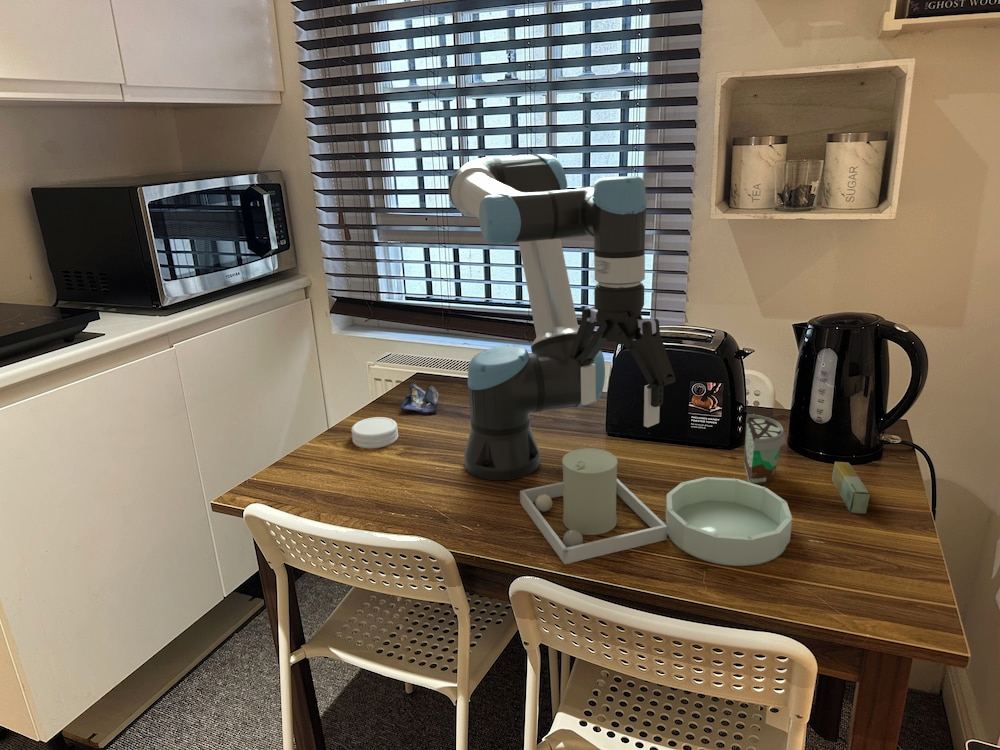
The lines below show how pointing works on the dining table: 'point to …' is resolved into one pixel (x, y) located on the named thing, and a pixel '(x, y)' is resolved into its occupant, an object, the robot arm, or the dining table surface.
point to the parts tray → (600, 546)
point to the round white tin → (374, 432)
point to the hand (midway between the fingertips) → (618, 413)
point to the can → (589, 491)
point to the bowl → (728, 521)
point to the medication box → (850, 487)
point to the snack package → (421, 399)
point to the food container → (762, 448)
